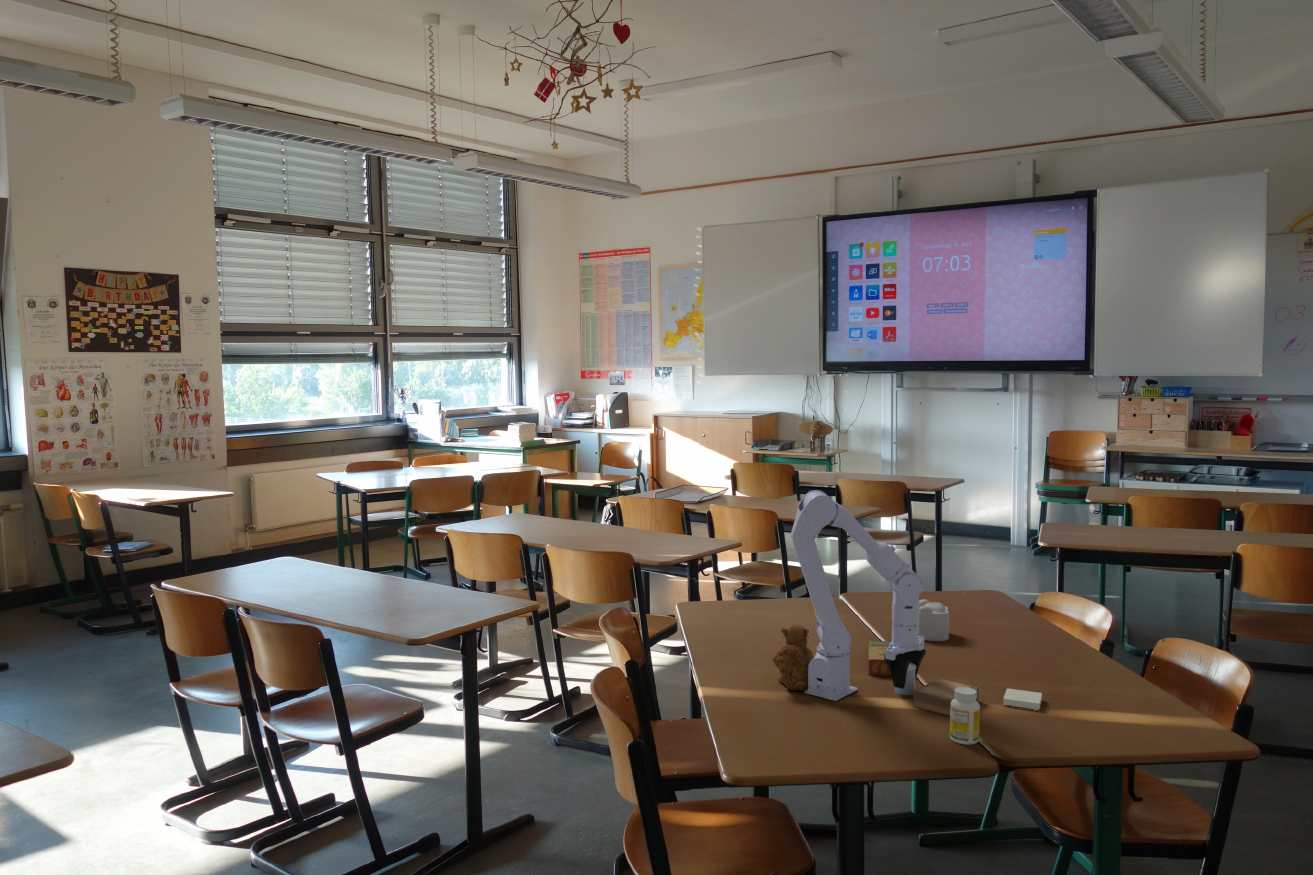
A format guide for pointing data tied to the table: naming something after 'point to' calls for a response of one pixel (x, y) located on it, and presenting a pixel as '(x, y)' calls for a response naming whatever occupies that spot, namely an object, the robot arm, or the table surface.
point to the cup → (908, 682)
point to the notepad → (1022, 699)
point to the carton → (878, 658)
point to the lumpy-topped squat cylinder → (933, 621)
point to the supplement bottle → (964, 716)
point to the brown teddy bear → (794, 658)
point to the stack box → (938, 695)
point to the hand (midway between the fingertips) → (904, 684)
